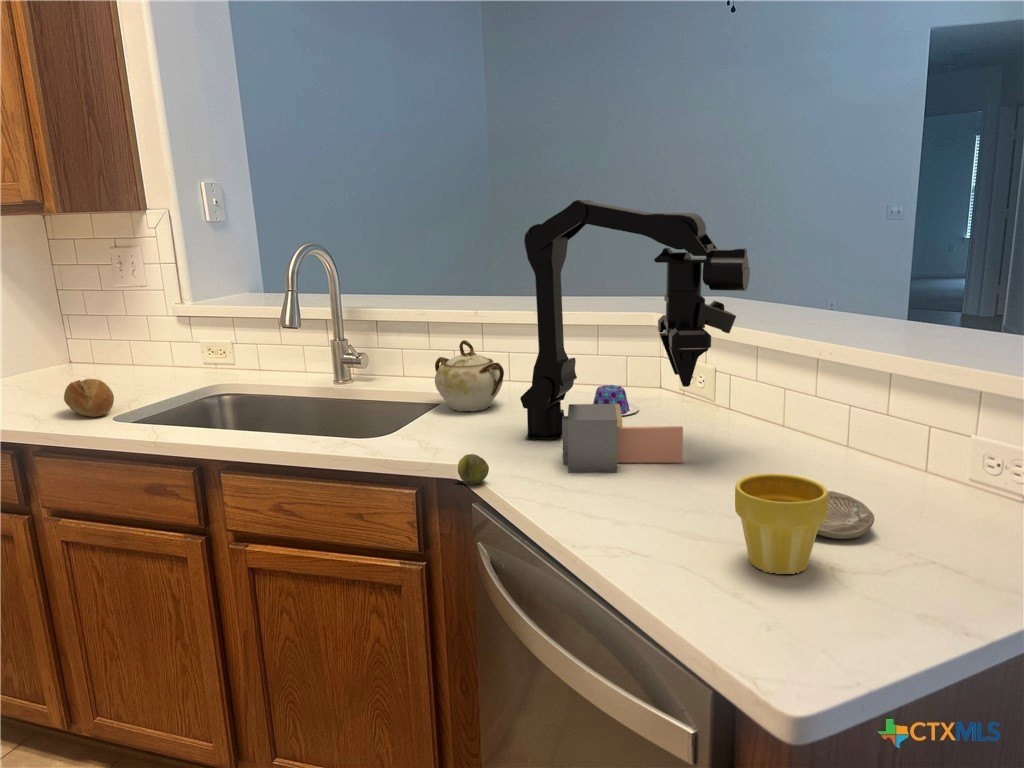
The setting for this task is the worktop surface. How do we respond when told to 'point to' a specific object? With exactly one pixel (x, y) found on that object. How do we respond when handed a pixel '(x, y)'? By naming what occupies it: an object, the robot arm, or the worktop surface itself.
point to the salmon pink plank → (650, 444)
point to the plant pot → (780, 519)
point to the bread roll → (89, 397)
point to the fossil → (845, 517)
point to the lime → (472, 469)
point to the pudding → (614, 398)
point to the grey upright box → (591, 438)
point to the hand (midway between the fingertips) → (681, 380)
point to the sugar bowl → (468, 380)
